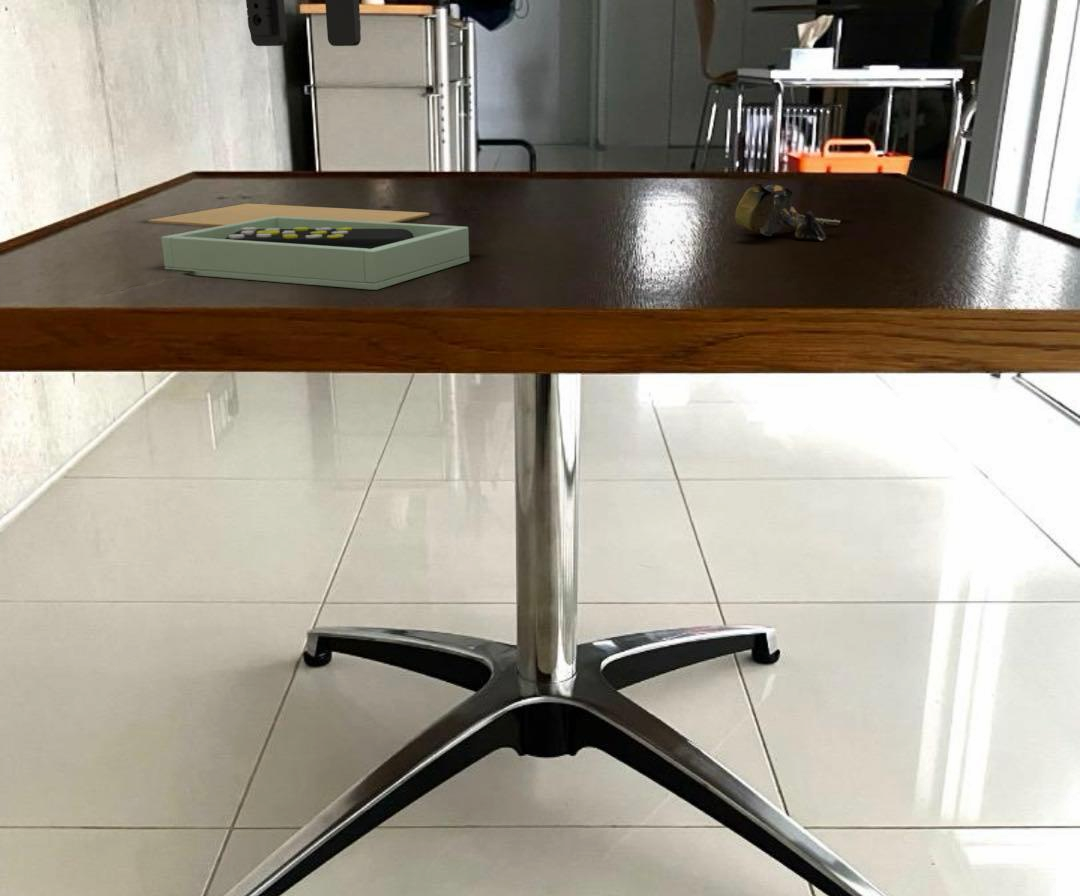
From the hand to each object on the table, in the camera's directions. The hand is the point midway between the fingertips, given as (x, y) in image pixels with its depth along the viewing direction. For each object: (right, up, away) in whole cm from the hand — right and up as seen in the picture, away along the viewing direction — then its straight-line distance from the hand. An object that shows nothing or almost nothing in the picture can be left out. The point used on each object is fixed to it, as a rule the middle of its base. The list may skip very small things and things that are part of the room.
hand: (308, 45), depth 79 cm
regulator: (+35, -7, +20) cm, 41 cm away
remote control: (0, -13, +5) cm, 14 cm away
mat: (-7, -4, +28) cm, 29 cm away
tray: (0, -13, +5) cm, 14 cm away
